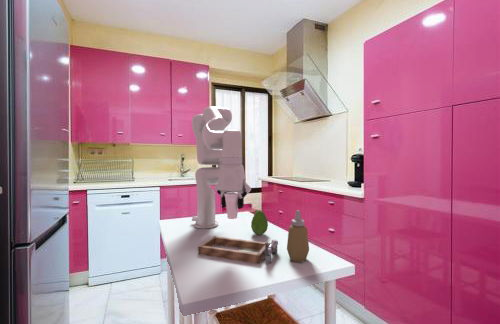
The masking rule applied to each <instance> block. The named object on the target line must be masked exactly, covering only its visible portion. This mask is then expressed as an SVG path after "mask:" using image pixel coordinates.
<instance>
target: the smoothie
mask: <svg viewBox="0 0 500 324" xmlns="http://www.w3.org/2000/svg"><path fill="white" fill-rule="evenodd" d="M224 196H225V201H226V207H225V209H226V214H227V219H229V220H235V219H237V218H238V213H239V212H238V211H239V209H238V199H239V195H238V193H237V192H232V191H227V193H224Z"/></svg>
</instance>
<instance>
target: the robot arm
mask: <svg viewBox="0 0 500 324" xmlns="http://www.w3.org/2000/svg"><path fill="white" fill-rule="evenodd" d="M232 118H233V114H232V111H231V110H230V109H229V108H228V107H223V106H222V107H221V106H207V107H205V108H204V109H203V111H202V113H198V114H195V115H193V116H192V118H191V128H192V132H193V135H194V138H195V142H196V144H195V145H196V159H197V163H198V164H199V165H203V166H206V167H199V168H198V169H196V171H195V174H194V176H195V178H194V179H195V183H196V198H197V200H196V201H197V202H196V203H197V204H196V206H197V209H196V210H197V214H196V215H197V216H192V218H191V221H192V222H195V223H194V227H195V228H197V229H204V230H207V229H213V228H217V227H218V226H219V222H218V221H216V192H217V194H218V195H219V197H220V204H221V208H222V209H224V208H226V201H225V196H224V193H227V192H237V193H238V195H239V199H238V210H240V209H243V208H244V206H245V205H244V204H245V201H244V200H245V197H246V196H247V195H248V194H249V193H250V192H251V190H252V187H251V186H250V185H249V184H248V183H247V182H246V173H245V167H244V164H243V165H242V163H243V160H242V158H243V157H242V152H243V150H242V142H243V141H242V132H241V131H240V130H238V129H226V128H227V127H228V126H229V125H231V122H232ZM225 129H226V130H225ZM213 166H214V167H213ZM212 185H215V186H213V188H212ZM215 191H216V192H215Z"/></svg>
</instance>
